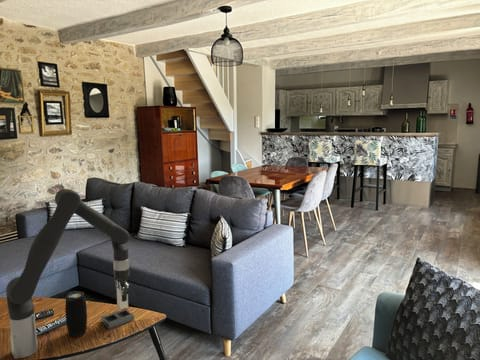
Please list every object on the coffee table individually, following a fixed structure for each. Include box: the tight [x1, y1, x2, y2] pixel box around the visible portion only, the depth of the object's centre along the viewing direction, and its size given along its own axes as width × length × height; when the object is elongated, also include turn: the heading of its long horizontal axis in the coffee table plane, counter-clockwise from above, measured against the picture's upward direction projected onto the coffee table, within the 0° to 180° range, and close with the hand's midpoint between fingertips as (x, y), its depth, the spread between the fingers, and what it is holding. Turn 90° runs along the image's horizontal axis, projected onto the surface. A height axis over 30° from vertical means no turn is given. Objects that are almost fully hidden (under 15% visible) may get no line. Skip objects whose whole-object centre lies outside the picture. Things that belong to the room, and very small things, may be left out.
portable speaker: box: [64, 290, 88, 338], centre depth 172 cm, size 9×9×20 cm
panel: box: [100, 308, 135, 330], centre depth 185 cm, size 13×10×3 cm
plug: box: [116, 287, 129, 310], centre depth 186 cm, size 5×4×10 cm
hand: (122, 299), depth 186 cm, fingers closed on plug, 4 cm apart
